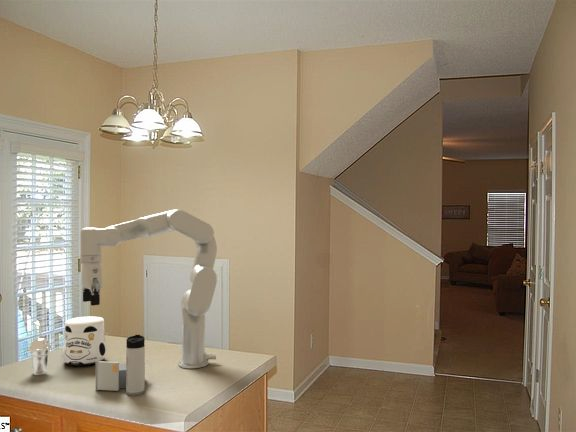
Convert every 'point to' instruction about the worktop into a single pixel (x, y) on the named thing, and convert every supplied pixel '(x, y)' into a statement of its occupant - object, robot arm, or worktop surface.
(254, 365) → the worktop surface
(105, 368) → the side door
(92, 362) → the milk container
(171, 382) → the worktop surface
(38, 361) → the cup with straw
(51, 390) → the worktop surface
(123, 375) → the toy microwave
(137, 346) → the travel mug
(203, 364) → the robot arm
